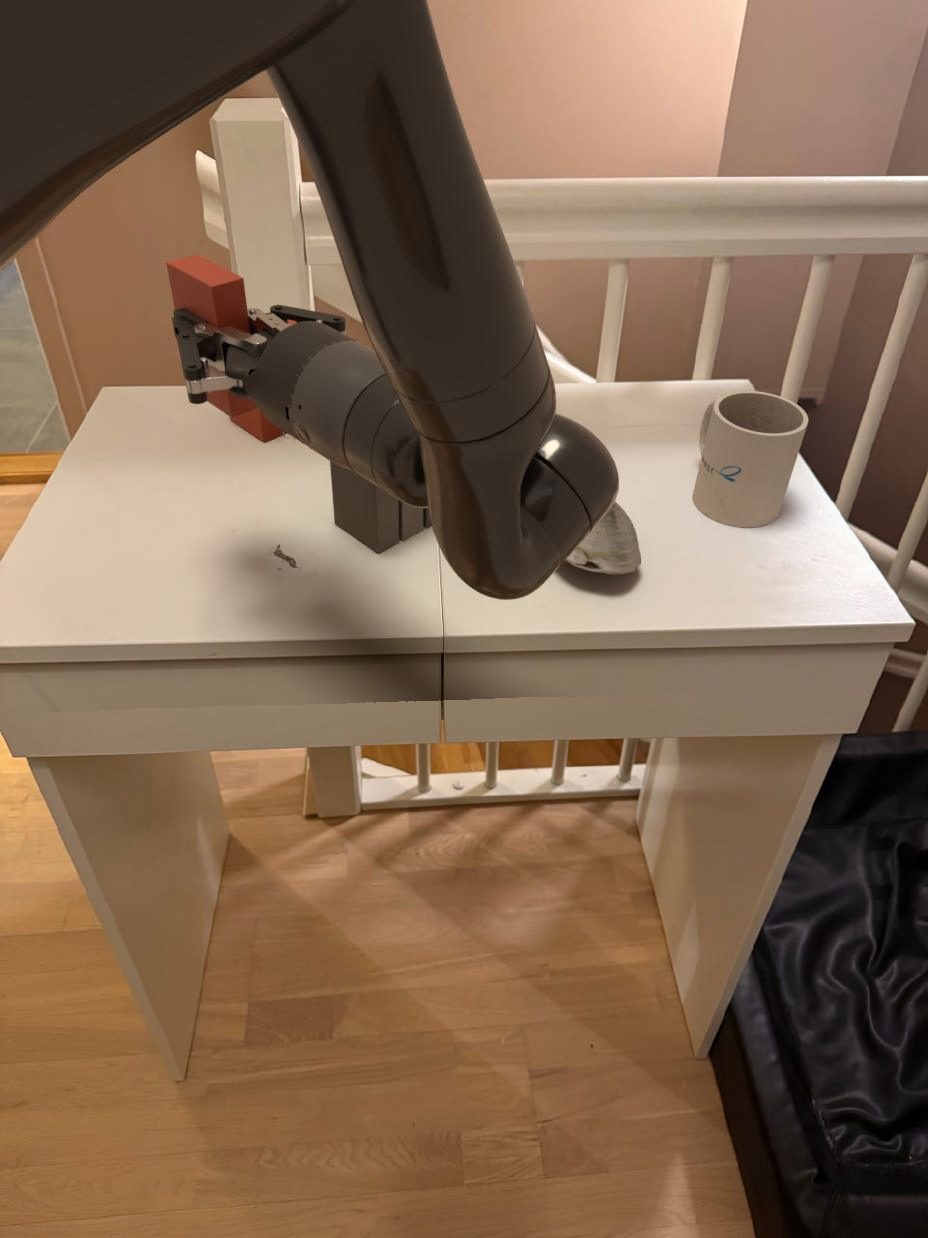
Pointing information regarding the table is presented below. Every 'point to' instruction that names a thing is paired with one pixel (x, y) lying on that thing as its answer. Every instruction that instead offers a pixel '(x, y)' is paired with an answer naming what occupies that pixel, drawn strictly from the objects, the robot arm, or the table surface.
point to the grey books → (373, 511)
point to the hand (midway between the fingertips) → (198, 316)
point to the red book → (212, 309)
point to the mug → (747, 457)
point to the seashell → (609, 545)
